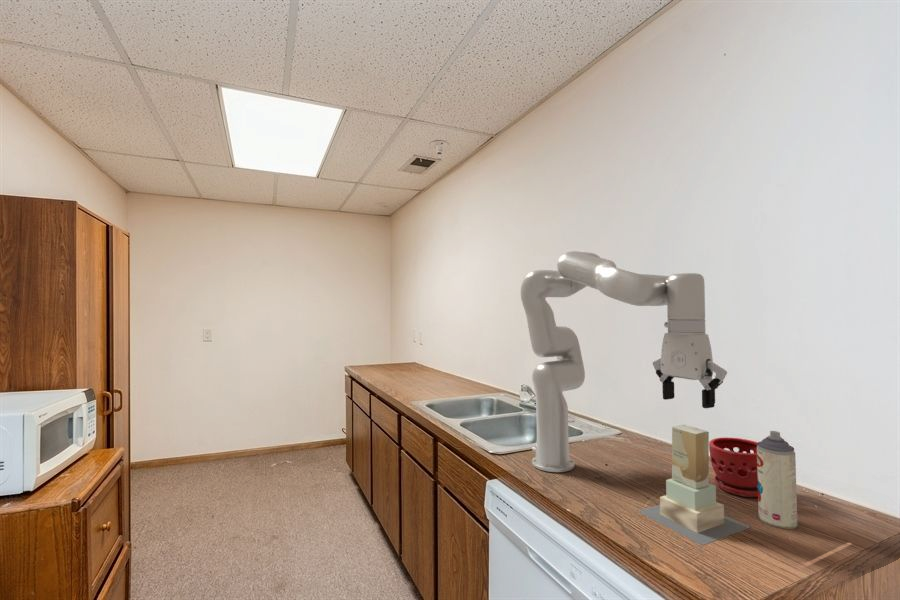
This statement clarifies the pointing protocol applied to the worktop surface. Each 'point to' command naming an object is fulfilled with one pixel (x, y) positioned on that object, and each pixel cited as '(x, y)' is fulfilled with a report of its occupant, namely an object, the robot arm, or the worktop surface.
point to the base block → (692, 515)
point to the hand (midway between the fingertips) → (687, 403)
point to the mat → (701, 537)
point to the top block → (691, 494)
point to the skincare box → (690, 456)
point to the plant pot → (735, 465)
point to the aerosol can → (777, 482)
